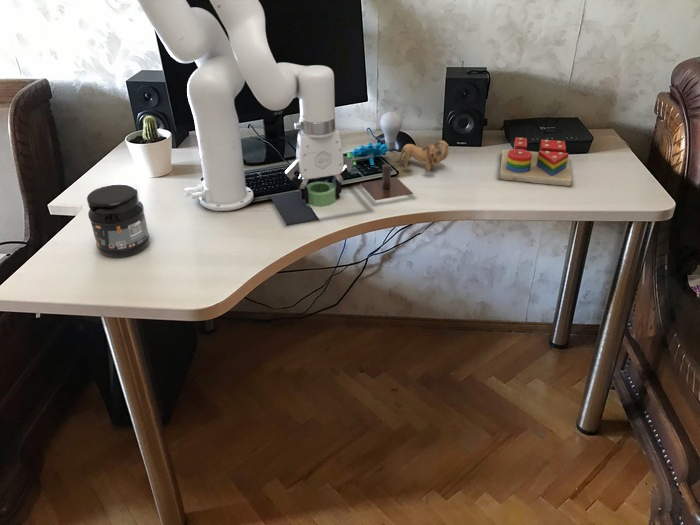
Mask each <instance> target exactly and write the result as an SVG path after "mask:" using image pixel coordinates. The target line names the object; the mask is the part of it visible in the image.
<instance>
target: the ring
mask: <svg viewBox="0 0 700 525" xmlns="http://www.w3.org/2000/svg"><path fill="white" fill-rule="evenodd" d="M306 187H307V188H308V204H306V205H307V206H308V207H310V208H312V207H317V208H318V207H319V208H322V207H323V208H324V207H329V206H331V205H333V204H335V203H336V200H337V198H336V187H335V186H334V185H333V184H332V182H328V181H314V182H311V183H307V184H306Z"/></svg>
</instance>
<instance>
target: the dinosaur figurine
mask: <svg viewBox="0 0 700 525" xmlns="http://www.w3.org/2000/svg"><path fill="white" fill-rule="evenodd" d="M366 145H367V146H365V145H363V144H361V145H359V146H358V148H353V150H352V152H347V153H346V156H347V157H346V158H348V159H349V160H351V161H352V162H353V164H354V165H356V166H357V163H359V162H365V161H369V164H370V165H374V166H375V162H374V159H375V157H379V158H381V156H386V155H387V152H389V151H390V150H389V149H388V147H387V144H386V143H383V144H382V142H376V143H375V145H373V143H372V142H369V143H367V144H366ZM360 157H361V158H360ZM354 165H353V166H354Z"/></svg>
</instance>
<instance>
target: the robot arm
mask: <svg viewBox="0 0 700 525" xmlns="http://www.w3.org/2000/svg"><path fill="white" fill-rule="evenodd" d="M136 1H137V2H138V4H139V6H140V7H141V9H142V10H143V12H144V15H145V16H146V18H147V19H148V21H149V23H150V24H151V26H152V28H153V29H154V31H155V32H156V34H157V36H158V38H159V39H160V41H161V43H162V44H163V46H164V48H165V49H166V51H167V53H168V54H169V55H170V57H171V58H173V60H175V61H176V62H178V63H181V64H191V63H193V62H195V64H196V66H197V68H196V69H195V70H194V71H193V72H192V74H191V75H190V77H189V78H188V81H187V85H186V86H187V88H186V93H187V99H188V104H189V106H190V109H191V113H192V116H193V120H194V126H195V132H196V138H197V143H198V150H199V157H200V164H201V171H202V177H203V180H201V184H198V185H197V186H195V187H194V186H193V187H185V188H184V194H185V197H191V199H192V200H196V199H199V203H200V205H201V206H202V207H204V208H205V209H207V210H211V211H215V212H228V211H234V210H239V209H242V208H244V207H247V206H248V205H249V204H251V203H252V201H253V200H254V191H253V190H252V189H251V188H250V187H248V186H247V184H246V175H245V174H246V173H245V165H244V156H243V147H242V146H243V145H242V137H241V128H240V121H239V117H238V113H237V110H236V106H235V99H236V97H237V96H238V95H239V93H240V92H241V91H242V90H243V88H244V86H245V83H246V84H247V86H248V87H249V89H250V91H251V92H252V94H253V96H254V98H256V100H257V101H258V103H259V104H260V105H262V107H264V108H266V109H267V110H270V111H274V112H277V111H281V110H284V109H286V108H287V107H288V106H289V105H290V104H291V102H292V101H293V99H296V98H297V99H298V100H299V101H298V102H299V120H298V121H297V122H294V124H293V127H294V130H298V133H297V139H296V149H295V150H296V151H295V152H296V153H295V161H293V162H292V163H291V165H289V167H288V168H287V169H286V170H285V171H284V174H285V176H286V177H287V178H289V180H291V181H292V182H293V183H294V184H295V185H296V186H297V187H298V192H299V193H300V199H301V200H303V201H304V203H305V204H308V188H307V187H306V186H307V185H308V182H309V180H314V179H319V178H326V177H331V176H333V177H332V179H331V180H332V181H331V184H333V185H334V186H335V187H336V200H337V199H340V197H341V194H342V182H343V181H344V178H345V177H347V175H348V174H349V171H351V170H352V169H353V167H354V164H353V162H352V161H351V159H348V157H346V156H345V155H344V154H343V152H344V151H343V144H342V139H341V138H342V137H341V134H340V130H339V129H338V128H336V112H335V111H336V105H335V104H336V102H335V101H336V100H335V98H336V97H335V74H334V71H333V69H332V68H330V67H329V66H326V65H322V64H321V65H319V64H315V65H314V64H313V65H302V64H301V65H300V64H296V63H291V62H276V60H275V58H274V56H273V53H272V51H271V49H270V46H269V43H268V38H267V32H266V16H265V11H264V8H263V5H262V4H261V2H260V1H259V0H209V2H210V4H211V6H212V7H213V9H214V10H215V12H216V14H217V16H218V18H219V20H220V21H221V23H222V25H223V26H224V28H225V30H226V32H227V35H228V36H227V35H226V32H225V30H224V29H223V27H222V26H221V24H220V22H219V21H218V19H217V18H216V16H214V15H213V14H212V13H211V12H210V11H208V10H206V9H204V8H201V7H196V6H195V7H191V6H190V4H189V3H188V1H187V0H136ZM296 171H297V172H298V173H299V176H297V175H296V174H294V173H295V172H296Z"/></svg>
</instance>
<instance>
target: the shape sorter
mask: <svg viewBox="0 0 700 525" xmlns="http://www.w3.org/2000/svg"><path fill="white" fill-rule="evenodd" d="M513 144H514V145H513V149H507V148H503V149H502V152H501V161H500V170H499V171H500V172H499V179H500V180H502V181H512V182H523V183H533V184H542V185H543V184H545V185H554V186H563V187H564V186H566V187H571V186H572V185H573V184H572V183H573V174H572V168H571V162H570V161H571V160H570V155H569V152H566V151H567V146H566V141H565V140H555V139H554V140H553V139H541V140H540V143H539V149H538V151H532V150H527V149H528V139H527V137H517V136H516V137H515V138H514V143H513Z"/></svg>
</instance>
